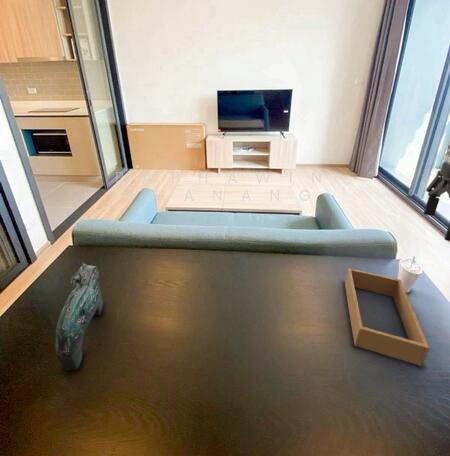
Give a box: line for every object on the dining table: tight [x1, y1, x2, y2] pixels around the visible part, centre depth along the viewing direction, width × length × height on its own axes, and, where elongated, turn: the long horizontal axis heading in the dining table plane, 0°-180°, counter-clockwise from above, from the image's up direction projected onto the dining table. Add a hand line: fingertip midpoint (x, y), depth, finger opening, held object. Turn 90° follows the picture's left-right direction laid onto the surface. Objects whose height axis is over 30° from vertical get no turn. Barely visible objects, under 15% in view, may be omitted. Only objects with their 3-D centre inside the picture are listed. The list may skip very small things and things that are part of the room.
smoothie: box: [397, 256, 423, 294], centre depth 82 cm, size 6×6×14 cm
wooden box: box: [344, 267, 430, 367], centre depth 73 cm, size 16×22×7 cm
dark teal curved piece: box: [54, 262, 104, 371], centre depth 67 cm, size 20×6×20 cm, turn 5°
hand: (438, 226), depth 77 cm, fingers open, 13 cm apart
